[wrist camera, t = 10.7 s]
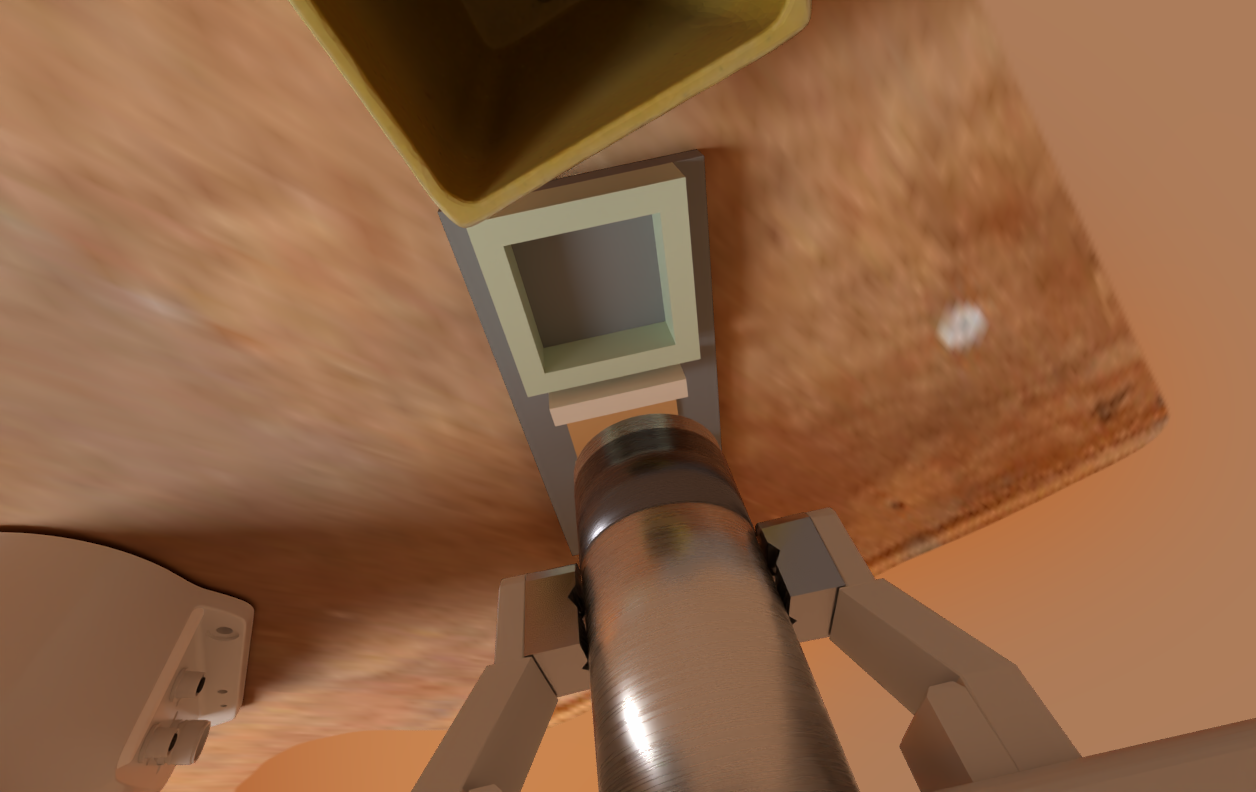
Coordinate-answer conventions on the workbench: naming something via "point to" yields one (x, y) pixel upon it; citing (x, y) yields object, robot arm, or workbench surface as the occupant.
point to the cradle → (616, 401)
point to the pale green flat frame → (580, 210)
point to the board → (596, 312)
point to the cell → (689, 626)
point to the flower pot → (531, 78)
